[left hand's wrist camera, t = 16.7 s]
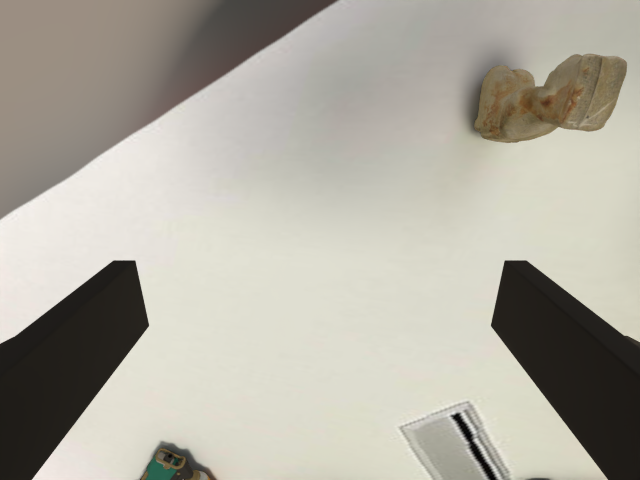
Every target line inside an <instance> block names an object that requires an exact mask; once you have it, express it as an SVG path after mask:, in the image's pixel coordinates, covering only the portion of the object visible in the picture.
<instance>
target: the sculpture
mask: <svg viewBox="0 0 640 480" xmlns="http://www.w3.org/2000/svg"><path fill="white" fill-rule="evenodd" d="M626 70H627V62H626V61H625V60H624V59H622V58H620V57H617V56H608V57H605V56H599V55H595V54H586V55H583V56H581V55H578V54H576V55H572V56H570V57H569V58H568V59H566V60H565V61H564V62H562V63H561V64H560V65H558V66H557V68H556V69H555V70H554V71H552V72H551V73H550V74H549V76H548V78H547V80H546V82H545V85H544V86H543V87H535V83H534V78H533V76H532V74H530V73H529V72H528V71H525V70H522V69H516V70H513V71H511V70H510V69H509V68H508V67H507V66H501V65H499V66H496V67H494V68H492V69H491V70H490V71H489V72H488V73H487V75H486V76H485V78H484V81H483V84H482V88H481V94H480V102H479V112H478V117H477V119H476V120H475V123H474V127H475V129H476V130H477V131H480V132H481V136H482V137H483V138H484V139H488V140H492V141H497V142H505V143H511V142H519V141H525V140H531V139H535V138H537V137H540V136H543V135H546V134H549V133H551V132H552V131H554V130H555V129H556V128H558V127H561V128H564V129H574V130H583V131H595V130H599V129H601V128H602V127H604V125H605V123H606V121H607V120H608V119H609V117H610V116H611V114H612V112H613V110H614V107H615V105H616V102H617V99H618V96H619V92H620V89H621V86H622V84H623V81H624V78H625V76H626Z"/></svg>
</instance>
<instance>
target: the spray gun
mask: <svg viewBox="0 0 640 480" xmlns="http://www.w3.org/2000/svg"><path fill="white" fill-rule="evenodd" d="M160 451H164V452H166V453H167V454H164V453H162V452H160ZM174 457H176V458H174ZM177 458H178V459H183V461H182V460H181V461H180V462H178V459H177ZM182 479H184V480H210V478H209V477H208V475H207V474H205V473H204V472H202V471H198V470H193V471H192V469H191V467H190V465H189V464H188V462H187V460H186V458H185V457H184V456H179V455H177V454H174V453H172V452H170V451H168V450H166V449H164V448H161V449H159V450H158V452H157V453H156V455H155V456H154V458H153V459H152V460H151V462H150V463H149V465H148V467H147V471H146V472H145V474H144V475H143V477H142V478H141V480H182Z"/></svg>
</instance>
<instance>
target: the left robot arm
mask: <svg viewBox="0 0 640 480" xmlns="http://www.w3.org/2000/svg"><path fill="white" fill-rule="evenodd" d="M148 327H149V323H148V318H147V314H146V309H145V304H144V300H143V295H142V290H141V285H140V281H139V276H138V271H137V267H136V262H135V261H112V262H111V263H110V264H109V265H107V266H106V267H105V268H103V269H102V270H101V271H99V272H98V273H97V274H96V275H94V276H93V277H92V278H90V279H89V280H88V281H86V282H85V283H84V284H83V285H81V286H80V287H79V288H77V289H76V290H75V291H73V292H72V293H71V294H70V295H68V296H67V297H66V298H64V299H63V300H62V301H60V302H59V303H58V304H57V305H55V306H54V307H53V308H51V309H50V310H49V311H47V312H46V313H45V314H44V315H42V316H41V317H40V318H38V319H37V320H36V321H34V322H33V323H32V324H31V325H29V326H28V327H27V328H25V329H24V330H23V331H22V332H20V333H19V334H18V335H16V336H15V337H13V338H11V339H9V340H7V341H5V342H3V343H1V344H0V480H32V479H33V477H34V476H35V475H36V473H37V472H38V471H39V470H40V468H41V467H42V466H43V464H44V463H45V462H46V460H47V459H48V458H49V456H50V455H51V454H52V452H53V451H54V450H55V449H56V447H57V446H58V445H59V443H60V442H61V441H62V439H63V438H64V437H65V435H66V434H67V433H68V431H69V430H70V429H71V428H72V426H73V425H74V424H75V422H76V421H77V420H78V418H79V417H80V416H81V414H82V413H83V412H84V411H85V409H86V408H87V407H88V405H89V404H90V403H91V401H92V400H93V399H94V397H95V396H96V395H97V393H98V392H99V391H100V390H101V388H102V387H103V386H104V384H105V383H106V382H107V380H108V379H109V378H110V376H111V375H112V374H113V372H114V371H115V370H116V369H117V367H118V366H119V365H120V363H121V362H122V361H123V359H124V358H125V357H126V355H127V354H128V353H129V352H130V350H131V349H132V348H133V346H134V345H135V344H136V342H137V341H138V340H139V338H140V337H141V336H142V334H143V333H144V332H145V331H146V329H147V328H148ZM491 327H492V328H493V329H494V331H495V332H496V333H497V334H498V336H499V337H500V338H501V340H502V341H503V342H504V344H505V345H506V346H507V348H508V349H509V350H510V352H511V353H512V354H513V355H514V357H515V358H516V359H517V361H518V362H519V363H520V365H521V366H522V367H523V369H524V370H525V371H526V372H527V374H528V375H529V376H530V378H531V379H532V380H533V382H534V383H535V384H536V386H537V387H538V388H539V390H540V391H541V392H542V393H543V395H544V396H545V397H546V399H547V400H548V401H549V403H550V404H551V405H552V407H553V408H554V409H555V411H556V412H557V413H558V414H559V416H560V417H561V418H562V420H563V421H564V422H565V424H566V425H567V426H568V428H569V429H570V430H571V431H572V433H573V434H574V435H575V437H576V438H577V439H578V441H579V442H580V443H581V445H582V446H583V447H584V449H585V450H586V451H587V452H588V454H589V455H590V456H591V458H592V459H593V460H594V462H595V463H596V464H597V466H598V467H599V468H600V470H601V471H602V472H603V473H604V475H605V476H606V477H607V479H608V480H640V342H638V341H636V340H634V339H632V338H630V337H628V336H624V335H622V334H621V333H620V332H618V331H617V330H616V329H615V328H613V327H612V326H611V325H609V324H608V323H607V322H606V321H604V320H603V319H602V318H600V317H599V316H598V315H596V314H595V313H594V312H593V311H591V310H590V309H589V308H587V307H586V306H585V305H583V304H582V303H581V302H580V301H578V300H577V299H576V298H574V297H573V296H572V295H570V294H569V293H568V292H567V291H565V290H564V289H563V288H561V287H560V286H559V285H557V284H556V283H555V282H554V281H552V280H551V279H550V278H548V277H547V276H546V275H544V274H543V273H542V272H541V271H539V270H538V269H537V268H535V267H534V266H533V265H531V264H530V263H529V262H528V261H505V262H504V267H503V271H502V276H501V281H500V285H499V290H498V295H497V300H496V304H495V309H494V314H493V318H492V323H491Z"/></svg>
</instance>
